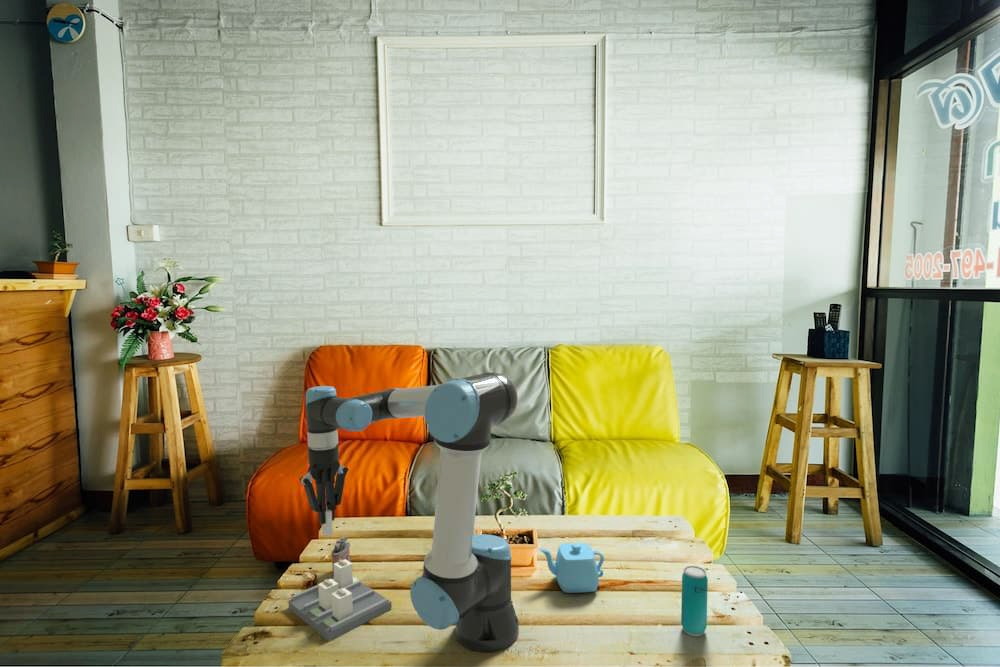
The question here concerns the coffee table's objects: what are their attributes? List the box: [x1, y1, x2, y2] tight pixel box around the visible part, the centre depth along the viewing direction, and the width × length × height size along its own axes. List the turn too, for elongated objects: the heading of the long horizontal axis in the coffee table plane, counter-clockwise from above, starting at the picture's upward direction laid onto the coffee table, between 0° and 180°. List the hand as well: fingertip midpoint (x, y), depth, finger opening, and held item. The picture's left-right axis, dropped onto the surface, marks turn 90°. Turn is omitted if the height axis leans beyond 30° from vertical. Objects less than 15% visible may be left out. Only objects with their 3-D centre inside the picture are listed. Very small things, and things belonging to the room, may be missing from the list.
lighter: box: [330, 535, 351, 579], centre depth 165 cm, size 8×3×10 cm, turn 168°
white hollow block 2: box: [331, 588, 353, 621], centre depth 140 cm, size 4×4×6 cm
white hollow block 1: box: [333, 559, 354, 588], centre depth 155 cm, size 4×4×6 cm
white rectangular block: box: [317, 578, 339, 611], centre depth 144 cm, size 4×4×6 cm
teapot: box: [538, 542, 605, 594], centre depth 157 cm, size 12×18×12 cm
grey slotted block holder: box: [287, 576, 393, 642], centre depth 147 cm, size 20×18×3 cm
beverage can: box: [680, 565, 709, 638], centre depth 135 cm, size 6×6×15 cm
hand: (327, 533), depth 149 cm, fingers closed
